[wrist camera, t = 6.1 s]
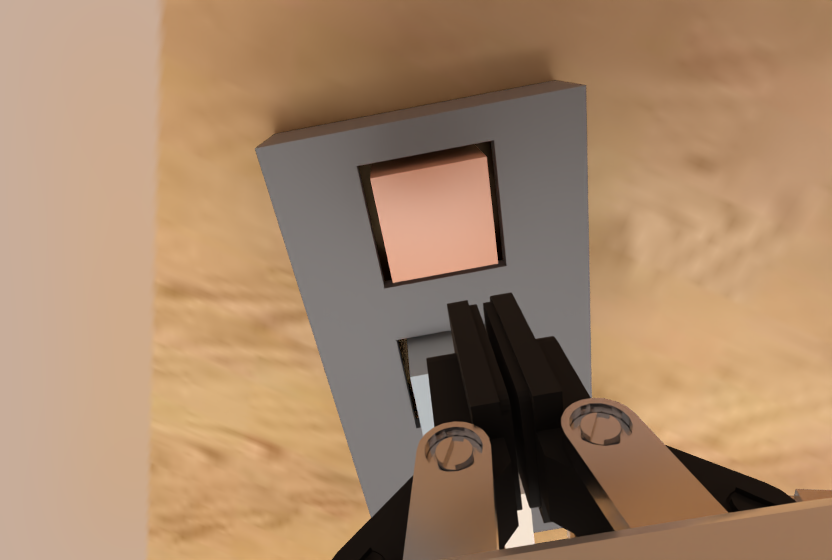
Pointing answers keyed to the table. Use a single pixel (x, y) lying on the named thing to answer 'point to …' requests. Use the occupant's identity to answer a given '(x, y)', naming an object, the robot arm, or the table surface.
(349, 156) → the button panel
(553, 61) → the table surface
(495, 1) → the table surface
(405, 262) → the terracotta button
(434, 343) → the light gray button
